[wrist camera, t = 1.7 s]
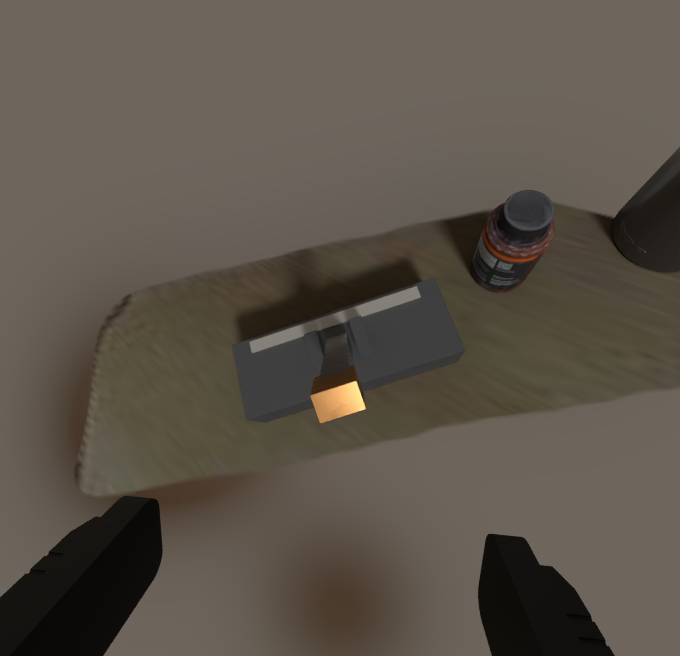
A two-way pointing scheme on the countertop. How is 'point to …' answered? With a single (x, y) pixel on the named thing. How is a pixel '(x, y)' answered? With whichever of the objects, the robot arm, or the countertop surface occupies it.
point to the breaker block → (367, 343)
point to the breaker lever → (337, 382)
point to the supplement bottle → (513, 241)
